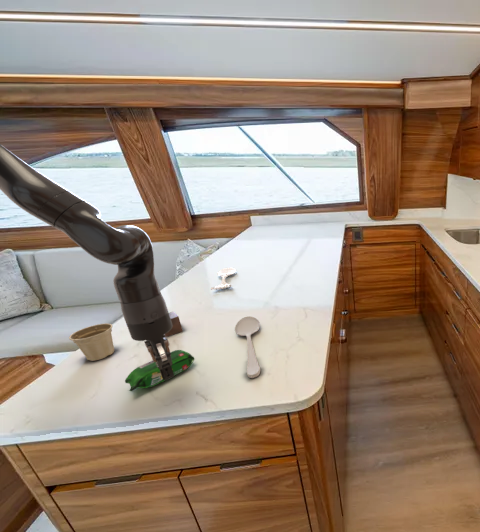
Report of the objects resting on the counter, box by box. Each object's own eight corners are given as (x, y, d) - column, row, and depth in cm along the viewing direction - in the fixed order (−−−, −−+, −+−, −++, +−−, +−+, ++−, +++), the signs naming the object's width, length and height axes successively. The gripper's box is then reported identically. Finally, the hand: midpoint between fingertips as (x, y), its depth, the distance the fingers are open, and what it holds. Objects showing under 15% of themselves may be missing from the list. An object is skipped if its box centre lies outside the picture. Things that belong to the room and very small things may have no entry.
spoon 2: (211, 294, 135) (209, 287, 134) (219, 273, 163) (217, 267, 162) (233, 291, 139) (231, 284, 138) (237, 270, 167) (236, 264, 165)
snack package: (123, 389, 78) (116, 373, 76) (188, 357, 91) (183, 343, 89) (134, 400, 75) (128, 383, 73) (200, 365, 87) (196, 350, 85)
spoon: (235, 325, 108) (233, 319, 107) (259, 319, 112) (257, 313, 111) (239, 387, 80) (237, 379, 79) (271, 376, 83) (269, 369, 82)
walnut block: (162, 338, 101) (157, 322, 99) (158, 332, 105) (153, 317, 103) (182, 331, 106) (178, 316, 104) (178, 325, 109) (174, 311, 107)
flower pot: (76, 357, 92) (65, 333, 89) (116, 343, 99) (107, 320, 96) (83, 368, 87) (72, 343, 84) (125, 352, 94) (116, 328, 91)
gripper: (121, 311, 69) (144, 373, 74) (129, 331, 60) (155, 399, 66) (161, 301, 74) (179, 359, 80) (174, 317, 65) (194, 381, 71)
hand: (168, 377), depth 73 cm, fingers closed
